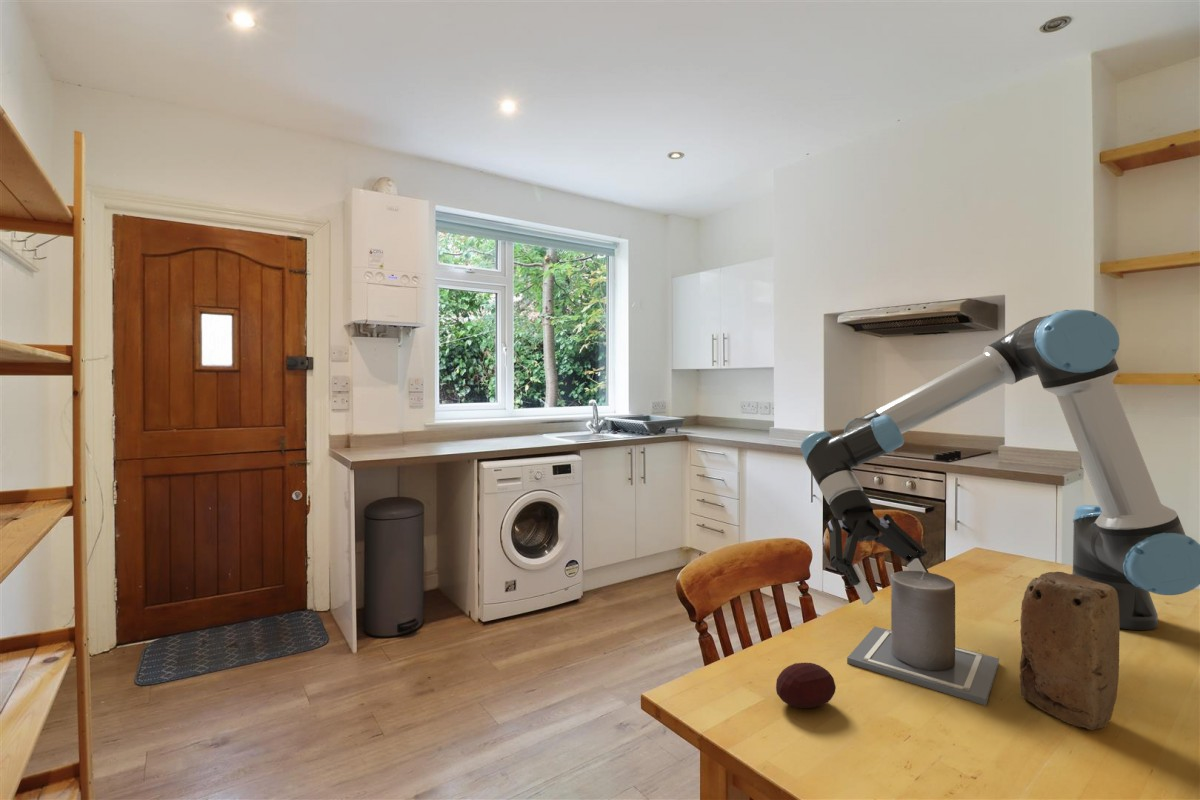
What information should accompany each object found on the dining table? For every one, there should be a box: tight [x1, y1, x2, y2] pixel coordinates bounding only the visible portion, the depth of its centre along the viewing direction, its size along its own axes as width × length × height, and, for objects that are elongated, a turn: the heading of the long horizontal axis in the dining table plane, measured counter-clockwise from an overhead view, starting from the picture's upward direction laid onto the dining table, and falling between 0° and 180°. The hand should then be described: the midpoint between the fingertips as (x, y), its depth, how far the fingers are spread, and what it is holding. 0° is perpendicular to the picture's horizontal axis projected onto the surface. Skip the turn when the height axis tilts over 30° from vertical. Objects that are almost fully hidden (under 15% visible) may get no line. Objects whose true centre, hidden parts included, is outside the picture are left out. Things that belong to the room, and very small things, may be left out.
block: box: [1019, 571, 1121, 731], centre depth 84 cm, size 11×8×20 cm
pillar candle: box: [890, 570, 956, 671], centre depth 99 cm, size 10×10×15 cm
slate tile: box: [846, 625, 1000, 706], centre depth 99 cm, size 20×17×1 cm
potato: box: [775, 662, 837, 709], centre depth 86 cm, size 8×9×6 cm
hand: (901, 598), depth 104 cm, fingers open, 13 cm apart
